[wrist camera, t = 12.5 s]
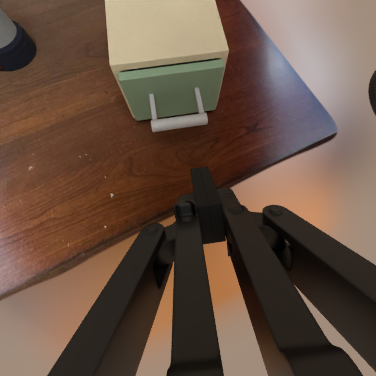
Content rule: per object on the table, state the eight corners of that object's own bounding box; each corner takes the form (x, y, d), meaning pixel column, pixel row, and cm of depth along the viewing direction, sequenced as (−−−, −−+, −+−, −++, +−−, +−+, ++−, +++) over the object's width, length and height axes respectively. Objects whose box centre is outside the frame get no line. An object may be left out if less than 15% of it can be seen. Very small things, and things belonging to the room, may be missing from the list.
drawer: (222, 139, 29) (234, 104, 21) (139, 151, 28) (121, 120, 21) (199, 40, 34) (202, -18, 26) (128, 48, 33) (110, -8, 26)
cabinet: (216, 106, 32) (229, 50, 22) (133, 118, 31) (109, 65, 22) (199, 34, 36) (204, -40, 26) (125, 44, 35) (102, -29, 25)
